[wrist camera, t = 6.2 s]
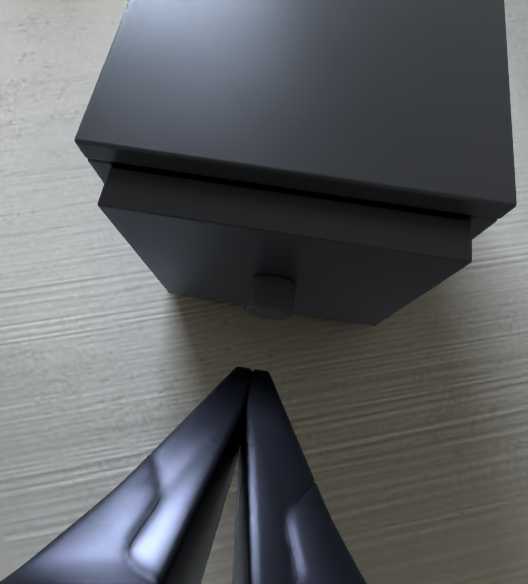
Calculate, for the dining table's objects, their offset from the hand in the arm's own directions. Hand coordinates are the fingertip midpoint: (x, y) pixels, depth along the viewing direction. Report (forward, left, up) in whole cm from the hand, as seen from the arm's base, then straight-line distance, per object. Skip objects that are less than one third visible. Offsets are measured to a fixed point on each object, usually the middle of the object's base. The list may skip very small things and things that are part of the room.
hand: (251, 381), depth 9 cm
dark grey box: (+3, +10, -7) cm, 13 cm away
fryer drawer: (+2, +8, -7) cm, 11 cm away
